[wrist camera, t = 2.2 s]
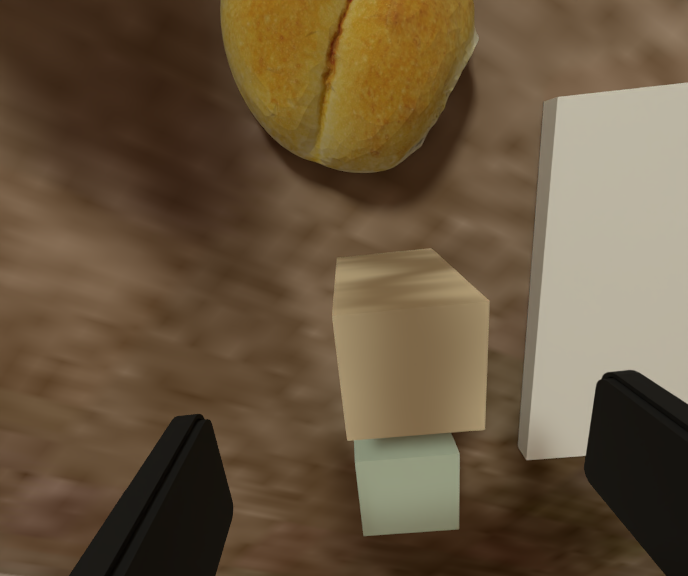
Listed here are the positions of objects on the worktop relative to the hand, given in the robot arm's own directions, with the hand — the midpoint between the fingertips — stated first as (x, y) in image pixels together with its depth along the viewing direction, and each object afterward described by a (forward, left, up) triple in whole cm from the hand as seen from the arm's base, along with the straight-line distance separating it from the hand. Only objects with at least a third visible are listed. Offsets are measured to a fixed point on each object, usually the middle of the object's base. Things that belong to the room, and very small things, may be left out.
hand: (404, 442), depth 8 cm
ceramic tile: (-14, +1, -9) cm, 17 cm away
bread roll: (0, -11, -10) cm, 15 cm away
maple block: (-1, 0, -9) cm, 9 cm away
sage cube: (-1, +8, -10) cm, 12 cm away
